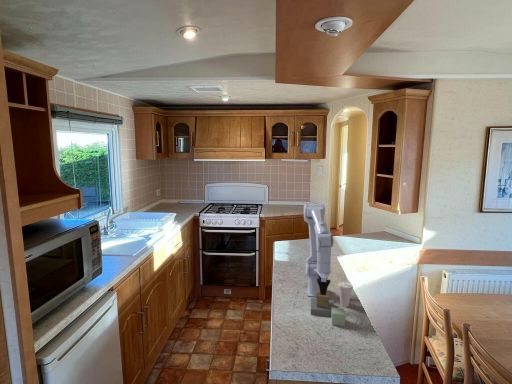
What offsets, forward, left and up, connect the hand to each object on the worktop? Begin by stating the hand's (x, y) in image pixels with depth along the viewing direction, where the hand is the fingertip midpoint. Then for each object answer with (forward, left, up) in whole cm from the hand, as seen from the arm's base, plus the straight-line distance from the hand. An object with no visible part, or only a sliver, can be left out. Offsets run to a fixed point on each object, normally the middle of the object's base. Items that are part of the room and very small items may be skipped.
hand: (322, 290), depth 137 cm
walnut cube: (0, 0, -6) cm, 6 cm away
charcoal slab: (0, 0, -9) cm, 9 cm away
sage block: (+9, +6, -9) cm, 14 cm away
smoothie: (-6, +10, -9) cm, 15 cm away
